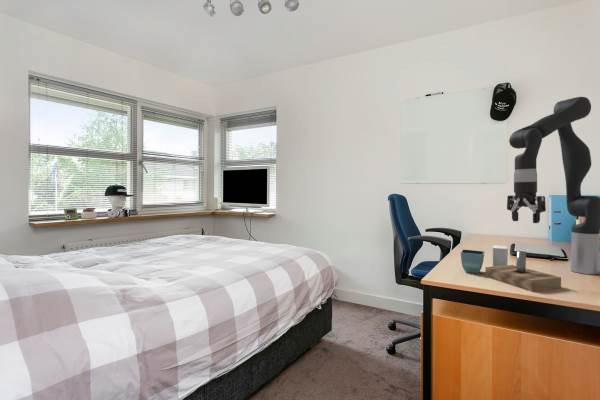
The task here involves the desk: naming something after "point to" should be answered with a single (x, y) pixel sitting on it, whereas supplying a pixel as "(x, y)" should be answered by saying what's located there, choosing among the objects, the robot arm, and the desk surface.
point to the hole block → (523, 278)
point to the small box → (500, 255)
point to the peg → (521, 262)
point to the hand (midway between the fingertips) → (525, 222)
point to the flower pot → (472, 260)
